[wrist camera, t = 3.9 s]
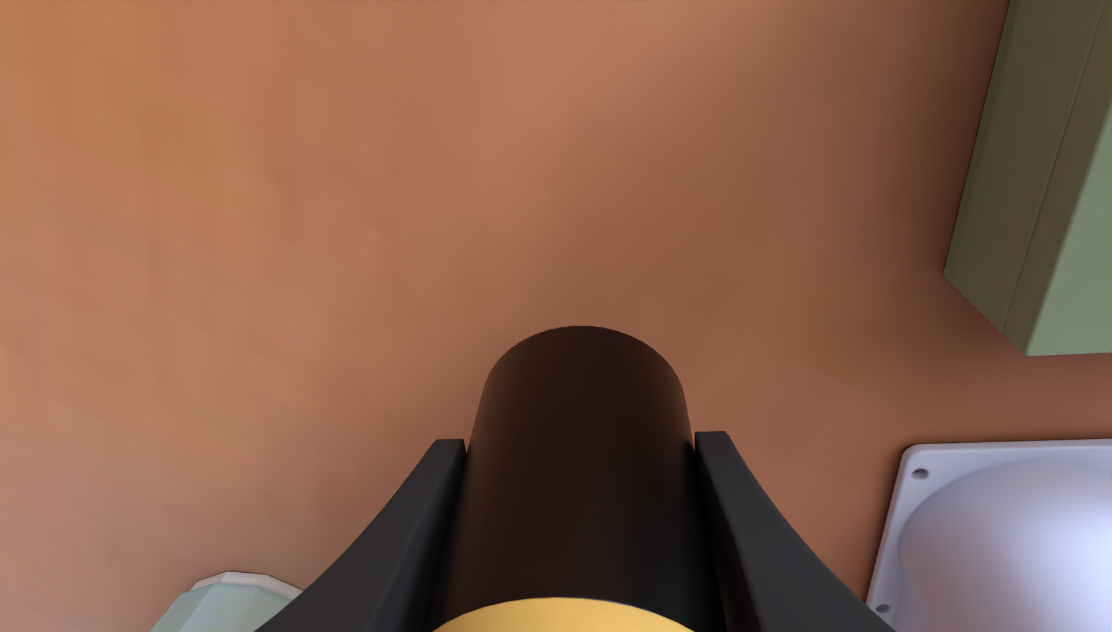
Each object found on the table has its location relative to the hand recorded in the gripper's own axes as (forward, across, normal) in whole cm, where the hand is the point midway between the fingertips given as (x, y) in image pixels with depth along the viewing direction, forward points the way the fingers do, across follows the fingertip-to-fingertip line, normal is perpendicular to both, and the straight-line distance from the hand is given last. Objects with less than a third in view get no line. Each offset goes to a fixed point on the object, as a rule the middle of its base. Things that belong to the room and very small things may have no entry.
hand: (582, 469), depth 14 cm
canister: (+2, 0, 0) cm, 2 cm away
